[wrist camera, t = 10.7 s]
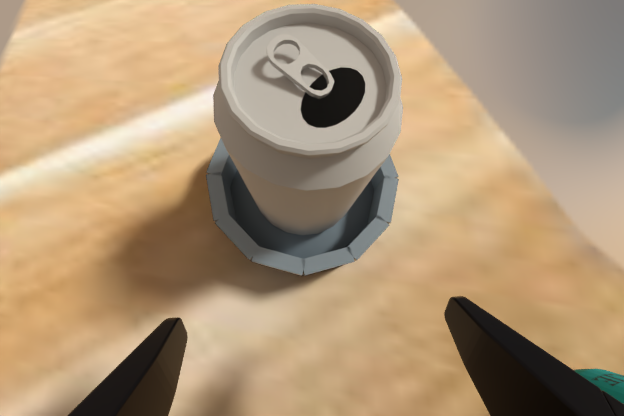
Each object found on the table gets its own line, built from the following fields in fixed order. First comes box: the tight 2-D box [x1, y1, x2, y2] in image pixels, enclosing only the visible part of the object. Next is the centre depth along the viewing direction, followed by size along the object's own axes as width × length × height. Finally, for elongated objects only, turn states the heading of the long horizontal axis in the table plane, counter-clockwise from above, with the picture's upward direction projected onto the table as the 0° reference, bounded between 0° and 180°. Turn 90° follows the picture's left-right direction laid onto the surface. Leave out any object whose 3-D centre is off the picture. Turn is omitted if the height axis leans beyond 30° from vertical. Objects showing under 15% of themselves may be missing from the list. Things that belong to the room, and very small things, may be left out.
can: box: [213, 4, 403, 235], centre depth 14 cm, size 8×8×12 cm
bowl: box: [206, 138, 399, 276], centre depth 19 cm, size 13×13×4 cm
